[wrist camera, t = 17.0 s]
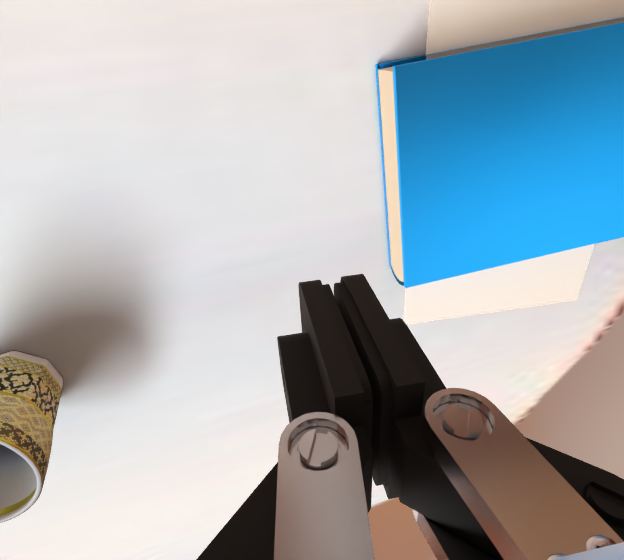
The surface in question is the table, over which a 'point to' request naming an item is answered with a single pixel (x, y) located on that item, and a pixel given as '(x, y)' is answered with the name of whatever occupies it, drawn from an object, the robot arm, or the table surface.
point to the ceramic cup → (25, 428)
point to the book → (502, 153)
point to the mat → (537, 271)
